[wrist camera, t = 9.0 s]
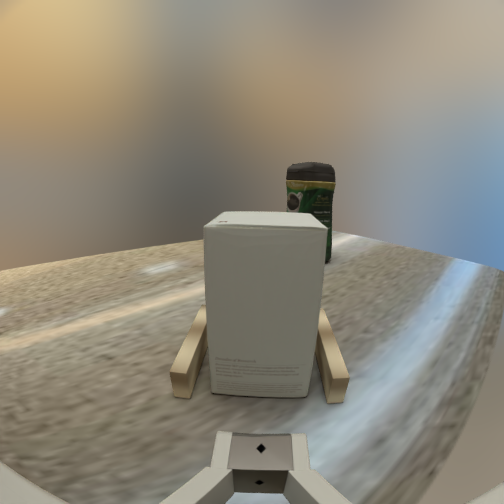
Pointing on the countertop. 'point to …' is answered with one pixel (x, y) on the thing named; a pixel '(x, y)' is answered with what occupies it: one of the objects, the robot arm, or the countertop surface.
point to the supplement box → (263, 301)
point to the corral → (197, 344)
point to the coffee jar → (312, 193)
